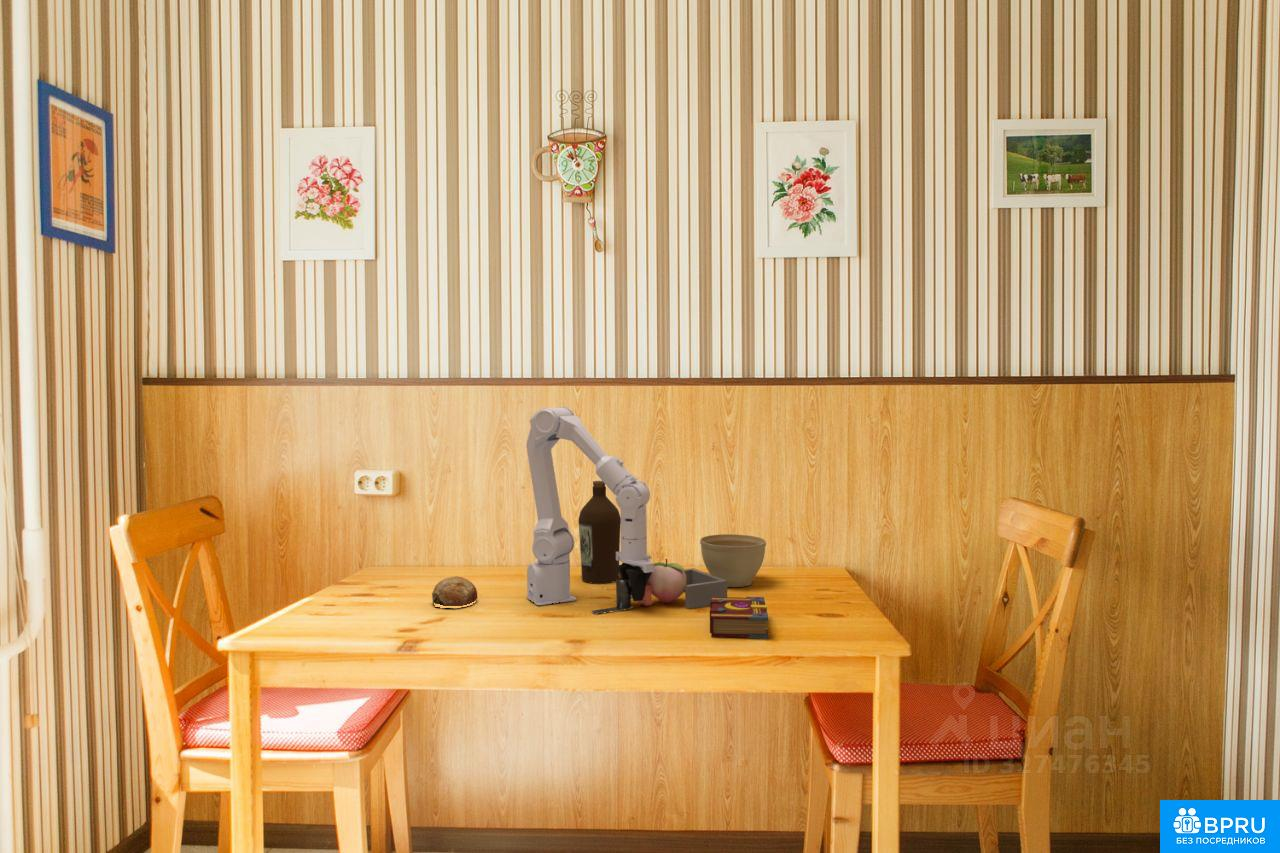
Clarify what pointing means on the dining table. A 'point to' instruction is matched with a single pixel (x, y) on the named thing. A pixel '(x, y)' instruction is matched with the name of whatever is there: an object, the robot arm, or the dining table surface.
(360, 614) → the dining table surface
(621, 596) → the kicker rod
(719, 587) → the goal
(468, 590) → the bread roll
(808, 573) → the dining table surface
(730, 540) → the planter bowl
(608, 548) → the olive oil
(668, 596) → the decorative fruit
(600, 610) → the rail strip
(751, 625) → the decorative book
